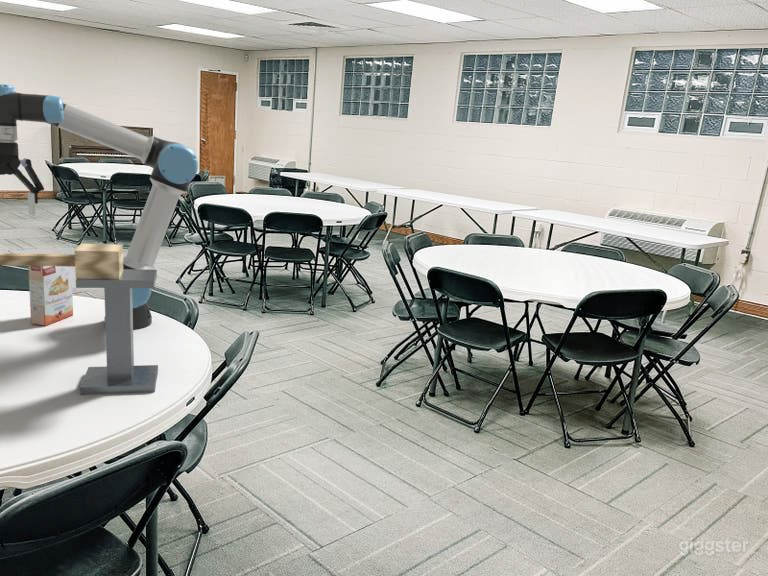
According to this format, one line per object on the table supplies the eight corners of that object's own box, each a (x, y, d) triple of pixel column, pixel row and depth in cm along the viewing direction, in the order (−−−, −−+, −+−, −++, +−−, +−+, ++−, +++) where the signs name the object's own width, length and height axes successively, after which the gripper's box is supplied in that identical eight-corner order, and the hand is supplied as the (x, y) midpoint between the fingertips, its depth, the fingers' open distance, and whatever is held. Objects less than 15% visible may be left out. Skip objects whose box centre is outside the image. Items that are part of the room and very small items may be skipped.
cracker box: (46, 326, 207) (42, 264, 202) (30, 324, 208) (26, 262, 203) (74, 315, 220) (72, 257, 215) (59, 313, 221) (56, 255, 216)
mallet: (-7, 277, 150) (-10, 248, 148) (4, 268, 158) (2, 241, 157) (119, 278, 158) (118, 251, 156) (123, 270, 166) (122, 244, 165)
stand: (79, 394, 160) (74, 280, 153) (88, 373, 173) (84, 267, 166) (154, 391, 165) (153, 281, 158) (158, 371, 178) (156, 268, 171)
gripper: (-44, 140, 165) (-37, 220, 170) (54, 143, 184) (57, 215, 189) (-54, 138, 169) (-47, 216, 174) (42, 141, 188) (45, 212, 194)
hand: (7, 216), depth 182 cm, fingers open, 13 cm apart
